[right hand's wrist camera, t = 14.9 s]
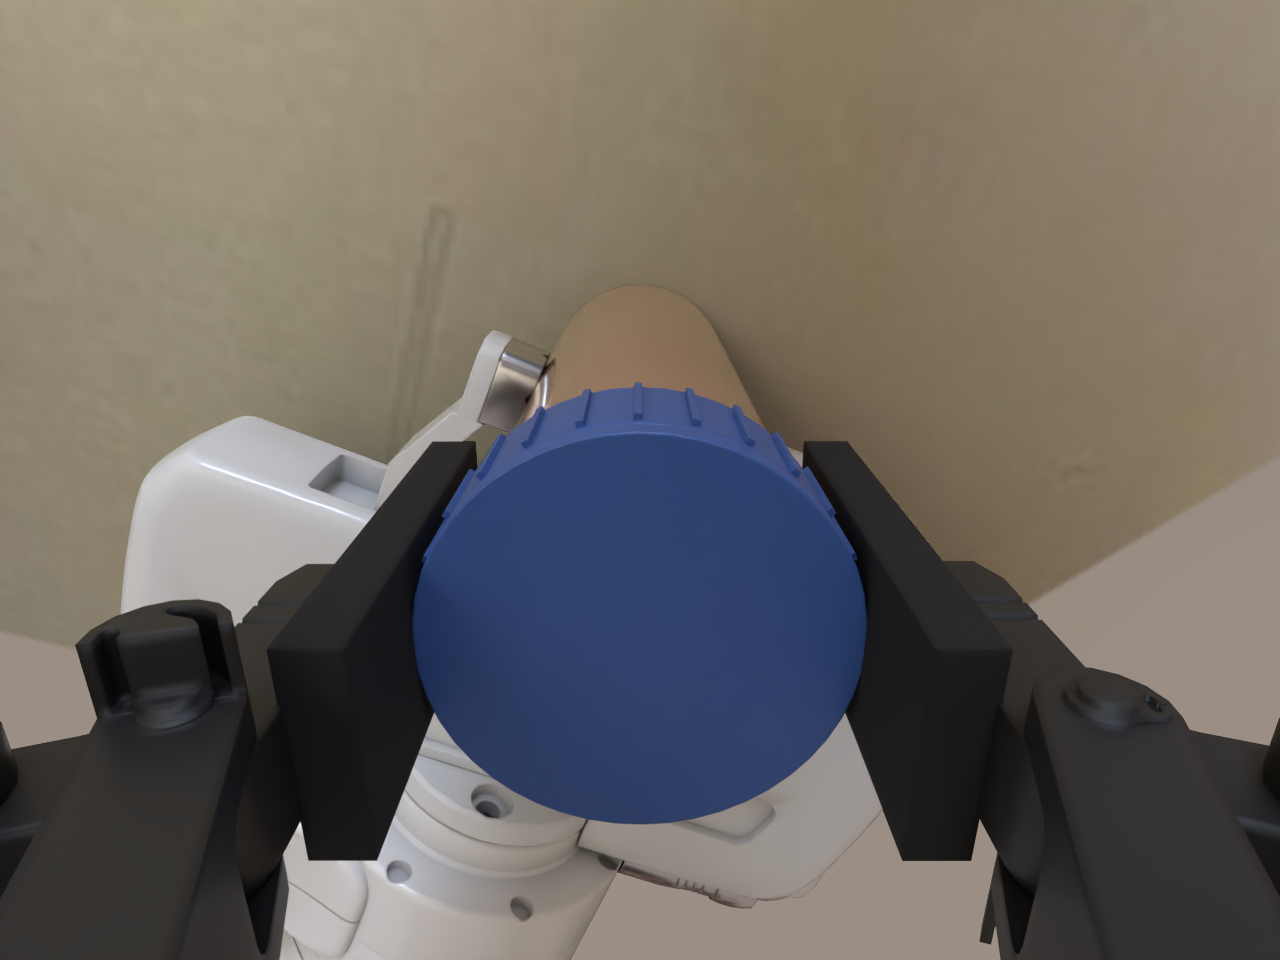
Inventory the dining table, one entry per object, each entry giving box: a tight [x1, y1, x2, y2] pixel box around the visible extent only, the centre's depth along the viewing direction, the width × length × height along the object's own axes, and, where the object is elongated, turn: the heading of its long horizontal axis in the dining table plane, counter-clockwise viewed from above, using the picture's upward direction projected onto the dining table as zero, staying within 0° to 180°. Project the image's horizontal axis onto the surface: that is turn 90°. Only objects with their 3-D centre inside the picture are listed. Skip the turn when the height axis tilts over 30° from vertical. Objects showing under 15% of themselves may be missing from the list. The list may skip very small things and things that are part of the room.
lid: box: [412, 382, 867, 825], centre depth 11 cm, size 6×6×2 cm
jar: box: [514, 285, 765, 429], centre depth 18 cm, size 5×5×15 cm
